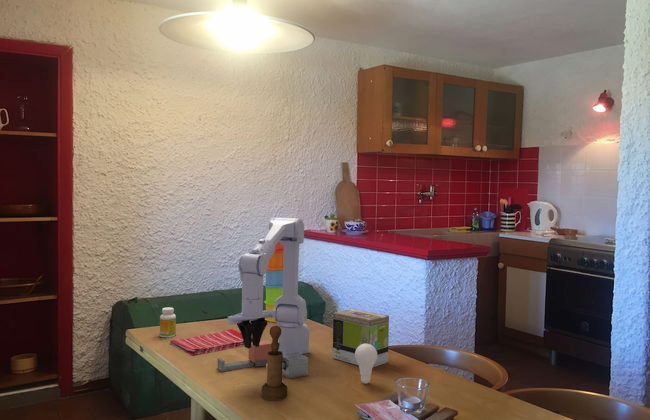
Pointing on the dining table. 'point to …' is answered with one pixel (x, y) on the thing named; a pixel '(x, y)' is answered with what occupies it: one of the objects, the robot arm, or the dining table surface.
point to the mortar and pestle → (274, 370)
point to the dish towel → (210, 342)
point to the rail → (233, 365)
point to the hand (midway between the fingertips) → (251, 346)
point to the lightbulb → (365, 360)
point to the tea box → (360, 334)
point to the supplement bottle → (167, 323)
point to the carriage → (260, 353)
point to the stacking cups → (274, 278)
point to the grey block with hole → (295, 365)
